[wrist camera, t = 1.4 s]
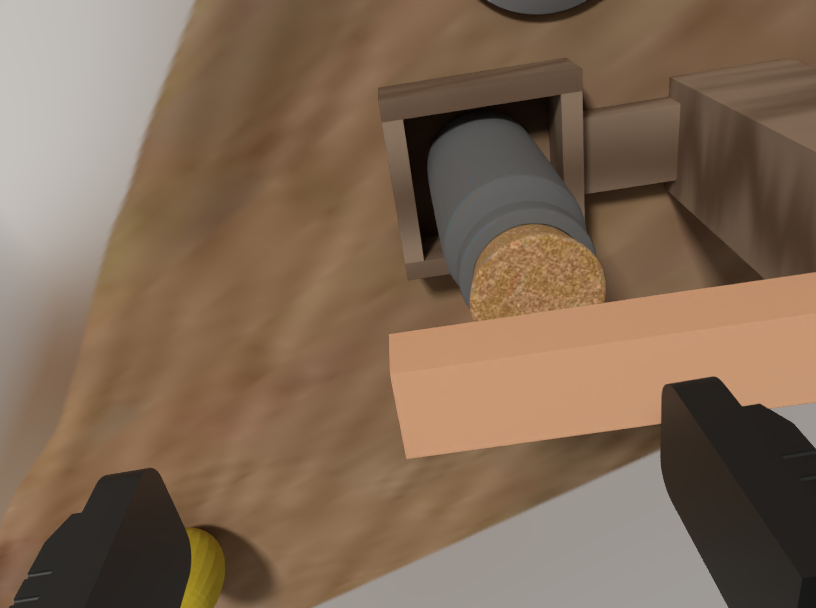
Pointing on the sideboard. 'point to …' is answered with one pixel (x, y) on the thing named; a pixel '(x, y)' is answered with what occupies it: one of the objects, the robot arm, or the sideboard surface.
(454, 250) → the bottle
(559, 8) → the mat
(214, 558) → the lemon
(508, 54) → the sideboard surface
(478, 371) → the bar
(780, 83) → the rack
